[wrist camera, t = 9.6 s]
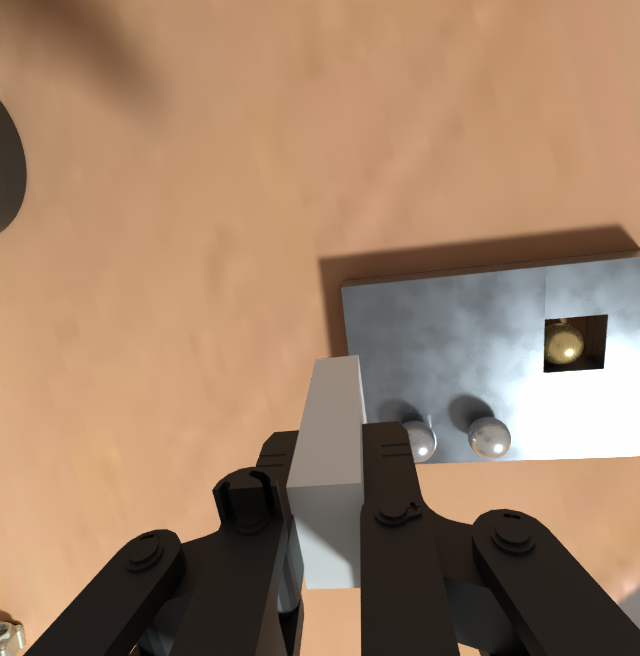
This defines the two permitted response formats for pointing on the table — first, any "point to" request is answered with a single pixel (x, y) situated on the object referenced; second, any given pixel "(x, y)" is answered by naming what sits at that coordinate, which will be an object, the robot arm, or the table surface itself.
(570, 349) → the brass ball
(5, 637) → the pneumatic valve
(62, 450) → the table surface
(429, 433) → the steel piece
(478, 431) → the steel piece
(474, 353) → the hole plate
